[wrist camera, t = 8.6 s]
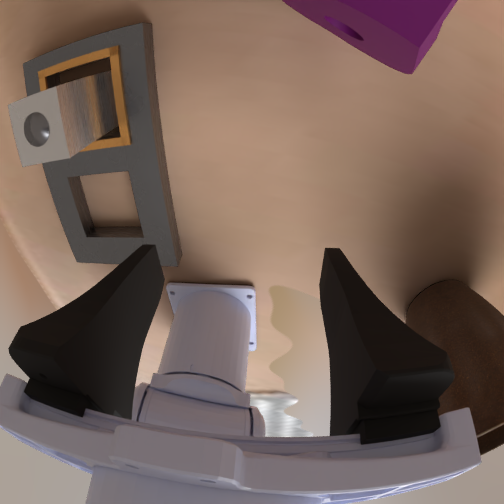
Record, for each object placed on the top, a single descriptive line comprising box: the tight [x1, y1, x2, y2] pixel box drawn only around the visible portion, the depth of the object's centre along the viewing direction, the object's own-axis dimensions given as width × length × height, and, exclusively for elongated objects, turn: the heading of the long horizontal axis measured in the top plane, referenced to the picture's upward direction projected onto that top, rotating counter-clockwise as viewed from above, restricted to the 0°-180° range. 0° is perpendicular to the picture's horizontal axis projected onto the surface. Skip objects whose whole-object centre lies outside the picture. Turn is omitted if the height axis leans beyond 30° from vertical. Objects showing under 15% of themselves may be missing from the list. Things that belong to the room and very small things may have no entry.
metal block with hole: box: [8, 71, 119, 167], centre depth 15 cm, size 4×4×6 cm
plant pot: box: [406, 280, 504, 456], centre depth 21 cm, size 15×15×16 cm
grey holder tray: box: [23, 23, 182, 267], centre depth 19 cm, size 18×10×2 cm, turn 1°
